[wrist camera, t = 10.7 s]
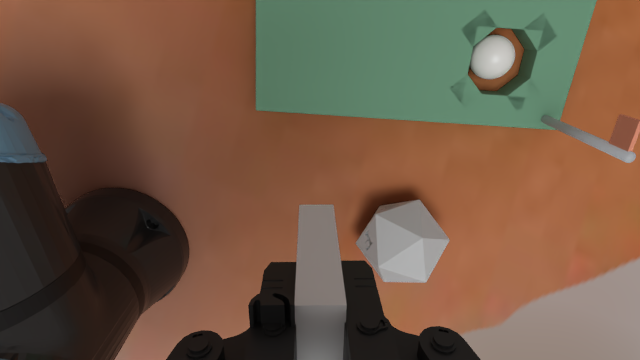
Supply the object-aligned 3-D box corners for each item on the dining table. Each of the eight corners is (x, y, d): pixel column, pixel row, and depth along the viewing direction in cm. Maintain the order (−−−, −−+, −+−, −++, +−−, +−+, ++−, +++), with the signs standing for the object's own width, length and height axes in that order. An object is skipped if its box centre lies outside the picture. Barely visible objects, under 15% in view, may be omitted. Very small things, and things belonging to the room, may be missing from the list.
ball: (494, 82, 35) (518, 81, 37) (503, 35, 33) (528, 36, 36) (456, 77, 38) (480, 75, 40) (464, 33, 36) (488, 34, 39)
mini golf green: (259, 105, 41) (230, 145, 28) (260, -25, 36) (225, -49, 23) (543, 123, 41) (645, 171, 28) (580, -2, 37) (721, -12, 24)
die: (408, 171, 44) (361, 211, 37) (474, 223, 42) (437, 276, 35) (376, 217, 50) (330, 259, 43) (432, 265, 47) (393, 318, 40)
